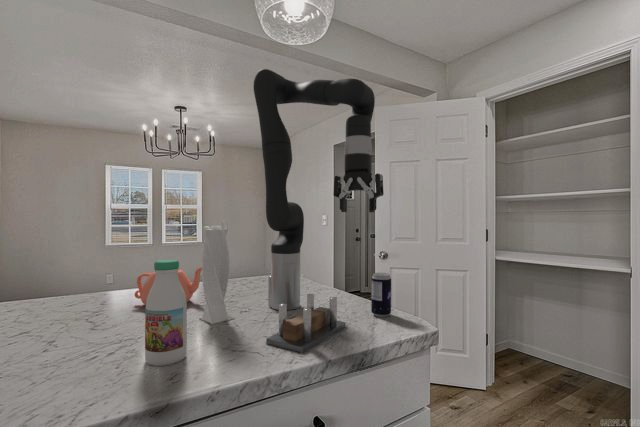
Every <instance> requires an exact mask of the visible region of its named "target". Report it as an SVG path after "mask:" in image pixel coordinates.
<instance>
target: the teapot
mask: <svg viewBox="0 0 640 427" xmlns="http://www.w3.org/2000/svg"><path fill="white" fill-rule="evenodd" d="M201 274H202V266H200V267H198V268H196V270H195V272H194V278H193V281H192V282H191V281H190V279H189V278H188V276H187V274H186V273H185V272H184V271H183V270H182V269H179V271H178V278H179V281H180V284H181V286H182V288H183V290H184V292H185V296H186V304H187V303H188V302H189V301H190V300H191V298H192V297H193V294H194V293H196V291H197V290H198V289H199V287H200V282H201V281H200V280H201ZM155 276H156V273H155V272H154V271H153V272H151V273H150V272H142V273H141V274H139V275H138V276H137V278H136V284H137V287H138V288H137V289H138V290H136V291H135V292H134V297H135V298H136V299H139V300H141V302H142V303H143V304H144V306H146V301H147V297H148V294H149V292H150V290H151V288H152V286H153V283H154V280H155ZM143 277H148V278H147V279H146V280H145V282H144V284H143V285H142V278H143Z"/></svg>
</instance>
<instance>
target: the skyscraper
mask: <svg viewBox="0 0 640 427" xmlns="http://www.w3.org/2000/svg"><path fill="white" fill-rule="evenodd" d="M224 224H225V225H224ZM202 231H203V234H204V237H205V238H204V239H205V241H204V245H203V250H202V255H201V256H202V259H201V267H202V271H201V279H202V280H201V281H202V287H203V294H204V299H205V306H204V310H203V314H202V317H200V318H199V321H202V322H205V323H208V324H210V325H211V326H212V325H216V324H220V323H225V322H228V321H232V320H235V317H232V316H230V315H228V310H227V307H226V303H225V298H226V294H227V290H228V284H229V279H230V278H229V277H230V253H229V247H228V242H227V233H228V231H229V227H228V223H227V221H226V220H225V219H224V220H222V221H221V225H210V226H208V225H205V226H204V227H203V228H202Z"/></svg>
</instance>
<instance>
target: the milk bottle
mask: <svg viewBox="0 0 640 427" xmlns="http://www.w3.org/2000/svg"><path fill="white" fill-rule="evenodd" d="M153 267H154V268H153V269H154V271H153V272H155V273H156V276H155V280H154V283H153V286H152V288H151V290H150V292H149V294H148V297H147V301H146V305H145V315H144V316H145V317H144V321H145V322H144V328H145V329H144V332H145V333H144V357H145V358H144V359H145V360H144V361H145V362H146V364H148V365H149V366H155V367H160V366H169V365H173V364H176V363H178V362H181V361H182V360H184V359H185V357H186V356H187V349H188V348H187V347H188V344H187V343H188V342H187V339H188V336H187V334H188V333H187V332H188V330H187V327H188V324H187V323H188V322H187V321H188V320H187V318H188V314H187V310H188V308H187V305H188V304H187V303H186V296H185V292H184V290H183V288H182V286H181V284H180V281H179V278H178V271H179V270H180V269H179V268H180V262H179V260H178V259H158V260H156V261H154V264H153Z"/></svg>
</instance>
